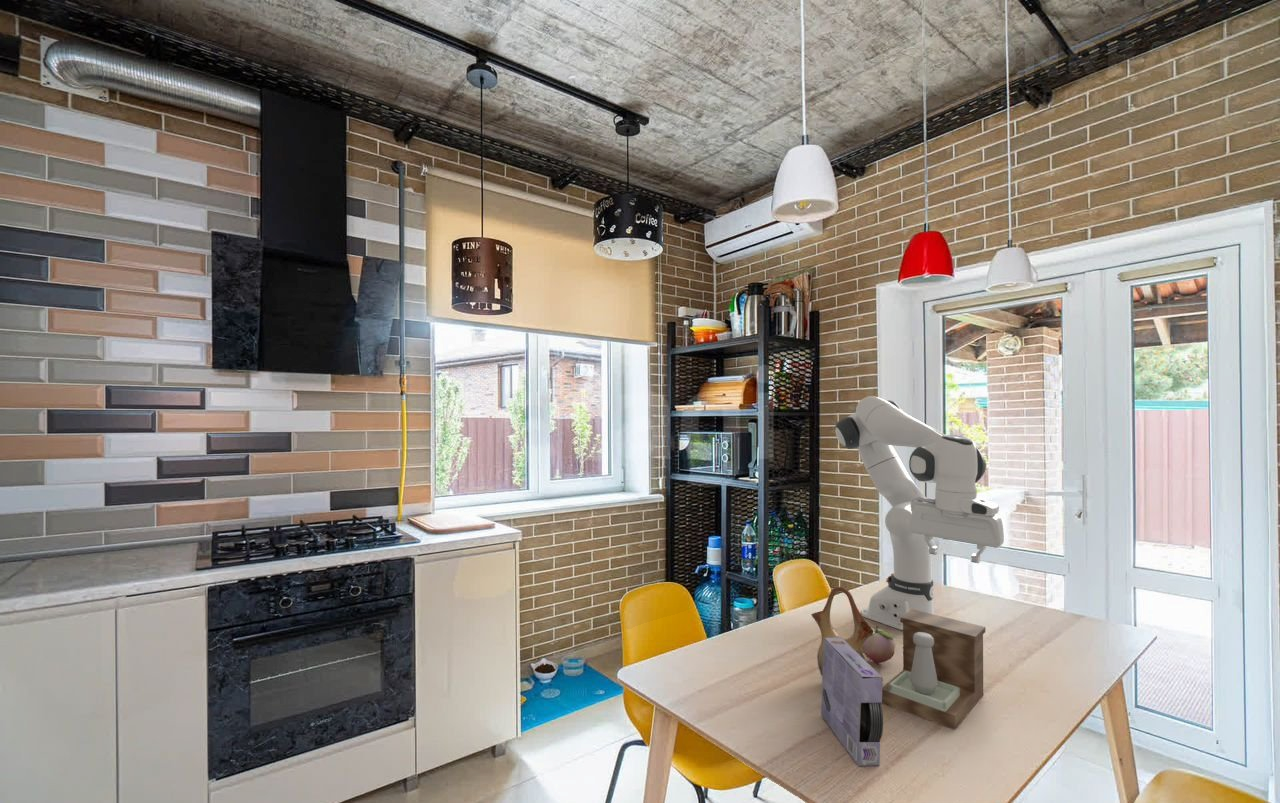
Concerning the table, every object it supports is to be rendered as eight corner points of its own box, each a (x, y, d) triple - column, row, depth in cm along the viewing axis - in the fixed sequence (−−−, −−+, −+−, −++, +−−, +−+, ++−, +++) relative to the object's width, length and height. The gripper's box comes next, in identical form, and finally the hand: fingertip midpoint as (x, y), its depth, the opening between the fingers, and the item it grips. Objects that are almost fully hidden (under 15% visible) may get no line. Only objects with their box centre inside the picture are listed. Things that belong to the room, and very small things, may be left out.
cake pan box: (885, 770, 107) (885, 676, 107) (860, 771, 106) (860, 677, 107) (841, 715, 126) (841, 635, 126) (819, 716, 126) (819, 636, 126)
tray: (888, 692, 130) (888, 684, 130) (905, 677, 137) (905, 670, 137) (945, 712, 122) (945, 703, 122) (959, 695, 129) (959, 687, 129)
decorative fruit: (900, 663, 152) (900, 625, 152) (889, 673, 146) (889, 634, 146) (865, 652, 158) (865, 617, 158) (854, 662, 152) (853, 625, 153)
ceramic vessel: (801, 682, 141) (801, 582, 141) (822, 672, 147) (822, 575, 147) (863, 709, 128) (863, 599, 129) (883, 697, 134) (882, 591, 134)
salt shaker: (942, 698, 126) (941, 640, 127) (915, 696, 127) (915, 638, 127) (931, 685, 132) (931, 630, 132) (906, 684, 133) (906, 628, 133)
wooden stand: (878, 701, 132) (878, 631, 132) (912, 671, 147) (912, 609, 147) (957, 730, 120) (957, 654, 120) (985, 694, 135) (985, 627, 135)
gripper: (906, 497, 143) (904, 551, 143) (999, 510, 128) (998, 570, 129) (915, 494, 147) (913, 546, 147) (1006, 506, 133) (1004, 564, 133)
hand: (953, 558), depth 138 cm, fingers open, 8 cm apart
